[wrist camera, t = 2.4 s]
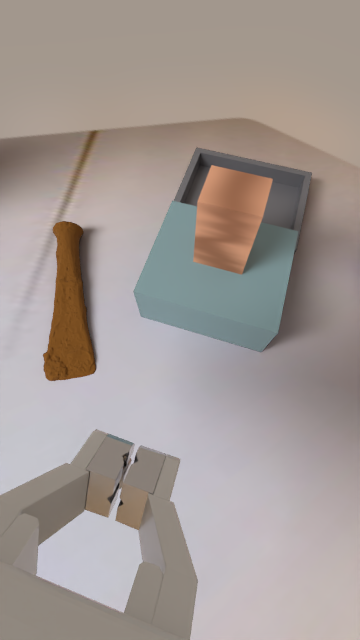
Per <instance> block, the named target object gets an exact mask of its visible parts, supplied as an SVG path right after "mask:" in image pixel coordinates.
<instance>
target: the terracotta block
mask: <svg viewBox="0 0 360 640" xmlns="http://www.w3.org/2000/svg"><path fill="white" fill-rule="evenodd" d="M272 181H273V179H271V178H267V177H262V176H258V175H253V174H249V173H244V172H240V171H236V170H231V169H227V168H222V167H218V166H213V165H211V168H210V170H209V173H208V175H207V178H206V181H205V183H204V186H203V188H202V191H201V194H200V196H199V199H198V202H197V216H196V230H195V244H194V258H193V262H196V263H200V264H204V265H207V266H211V267H215V268H219V269H222V270H226V271H230V272H234V273H237V274H241V275H242V273H243V270H244V267H245V265H246V262H247V259H248V256H249V254H250V251H251V248H252V245H253V243H254V240H255V237H256V234H257V232H258V229H259V226H260V224H261V221H262V218H263V215H264V211H265V207H266V203H267V200H268V196H269V192H270V188H271V185H272Z"/></svg>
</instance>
